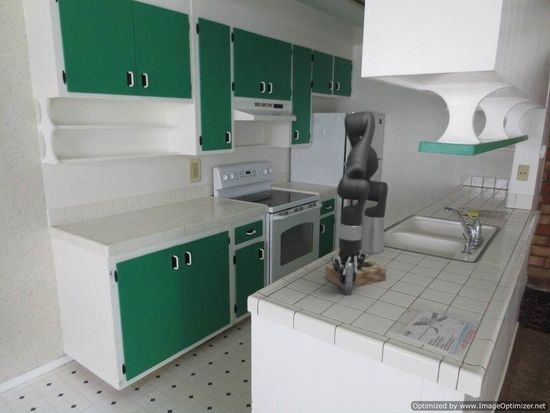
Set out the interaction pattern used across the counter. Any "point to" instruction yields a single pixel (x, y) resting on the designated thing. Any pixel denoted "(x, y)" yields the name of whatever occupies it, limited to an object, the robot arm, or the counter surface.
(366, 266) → the bore block
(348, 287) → the pin
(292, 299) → the counter surface
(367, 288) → the counter surface
